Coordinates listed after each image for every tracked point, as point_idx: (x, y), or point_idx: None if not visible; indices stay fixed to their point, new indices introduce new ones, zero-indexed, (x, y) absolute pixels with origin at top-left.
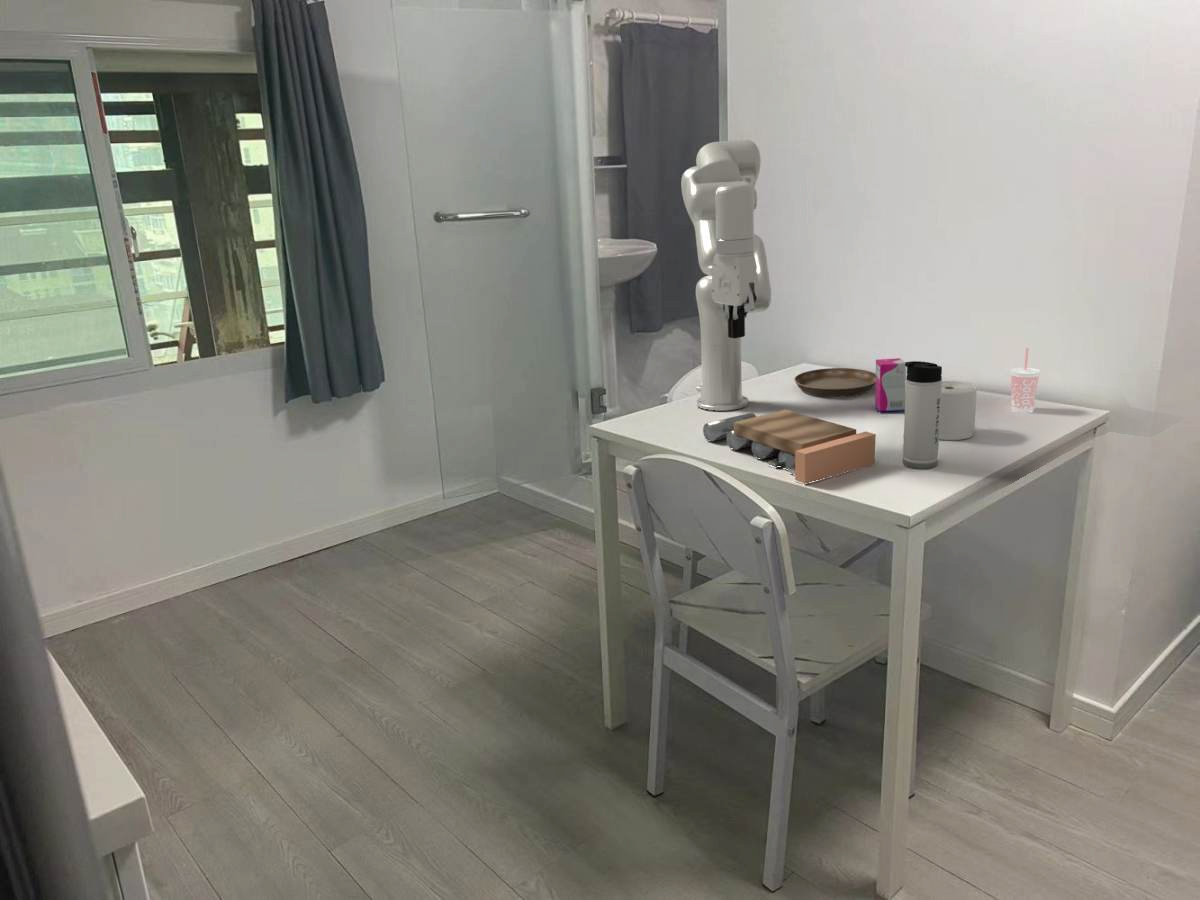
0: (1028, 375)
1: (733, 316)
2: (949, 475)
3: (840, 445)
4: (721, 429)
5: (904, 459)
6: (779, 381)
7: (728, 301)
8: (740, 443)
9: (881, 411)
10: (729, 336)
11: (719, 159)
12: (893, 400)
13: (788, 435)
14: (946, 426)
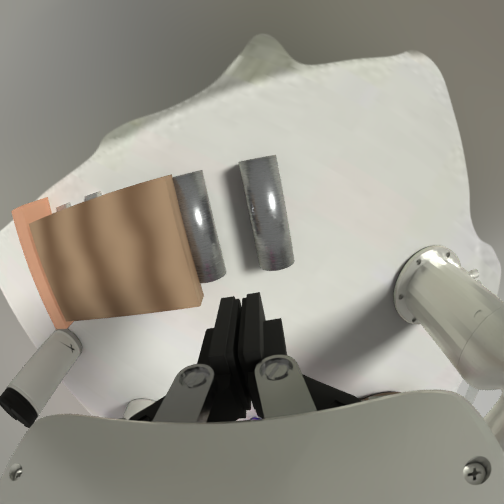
0: None
1: (210, 378)
2: (42, 337)
3: (31, 271)
4: (242, 180)
5: (63, 331)
6: (440, 382)
7: (143, 441)
8: None
9: (252, 419)
10: (247, 294)
11: None
12: None
13: (61, 227)
14: (125, 412)
